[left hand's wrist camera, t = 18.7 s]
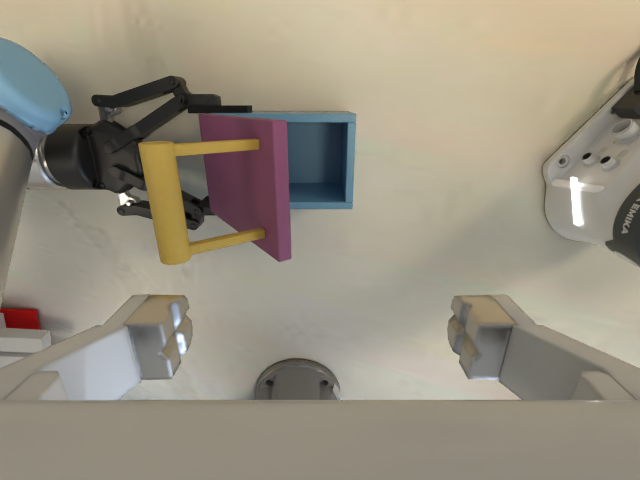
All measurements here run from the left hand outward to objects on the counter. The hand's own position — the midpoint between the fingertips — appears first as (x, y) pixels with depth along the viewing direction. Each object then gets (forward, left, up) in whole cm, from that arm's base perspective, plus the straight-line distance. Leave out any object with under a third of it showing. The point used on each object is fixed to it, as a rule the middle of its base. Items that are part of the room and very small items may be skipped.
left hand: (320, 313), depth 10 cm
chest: (+2, -3, -38) cm, 38 cm away
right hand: (+4, -7, -32) cm, 33 cm away
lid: (+3, -6, -21) cm, 22 cm away
